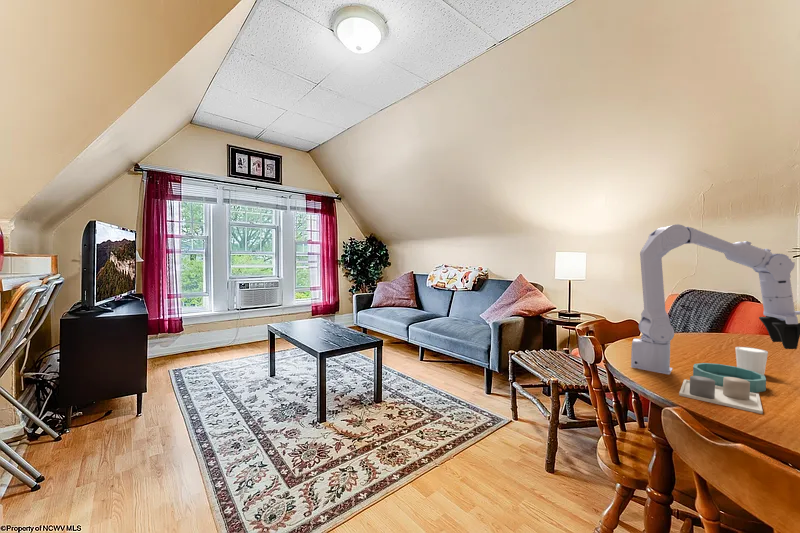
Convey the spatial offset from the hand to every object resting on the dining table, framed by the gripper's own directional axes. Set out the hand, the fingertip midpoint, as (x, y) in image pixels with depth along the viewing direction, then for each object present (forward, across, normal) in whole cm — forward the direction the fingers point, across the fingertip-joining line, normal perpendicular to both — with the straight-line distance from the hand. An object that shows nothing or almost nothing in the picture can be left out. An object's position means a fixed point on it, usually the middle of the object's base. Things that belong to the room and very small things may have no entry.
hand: (784, 345), depth 93 cm
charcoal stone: (+6, -26, +23) cm, 35 cm away
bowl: (+8, -10, +15) cm, 20 cm away
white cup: (+10, +6, +6) cm, 13 cm away
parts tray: (+7, -24, +20) cm, 32 cm away
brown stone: (+7, -22, +16) cm, 28 cm away
